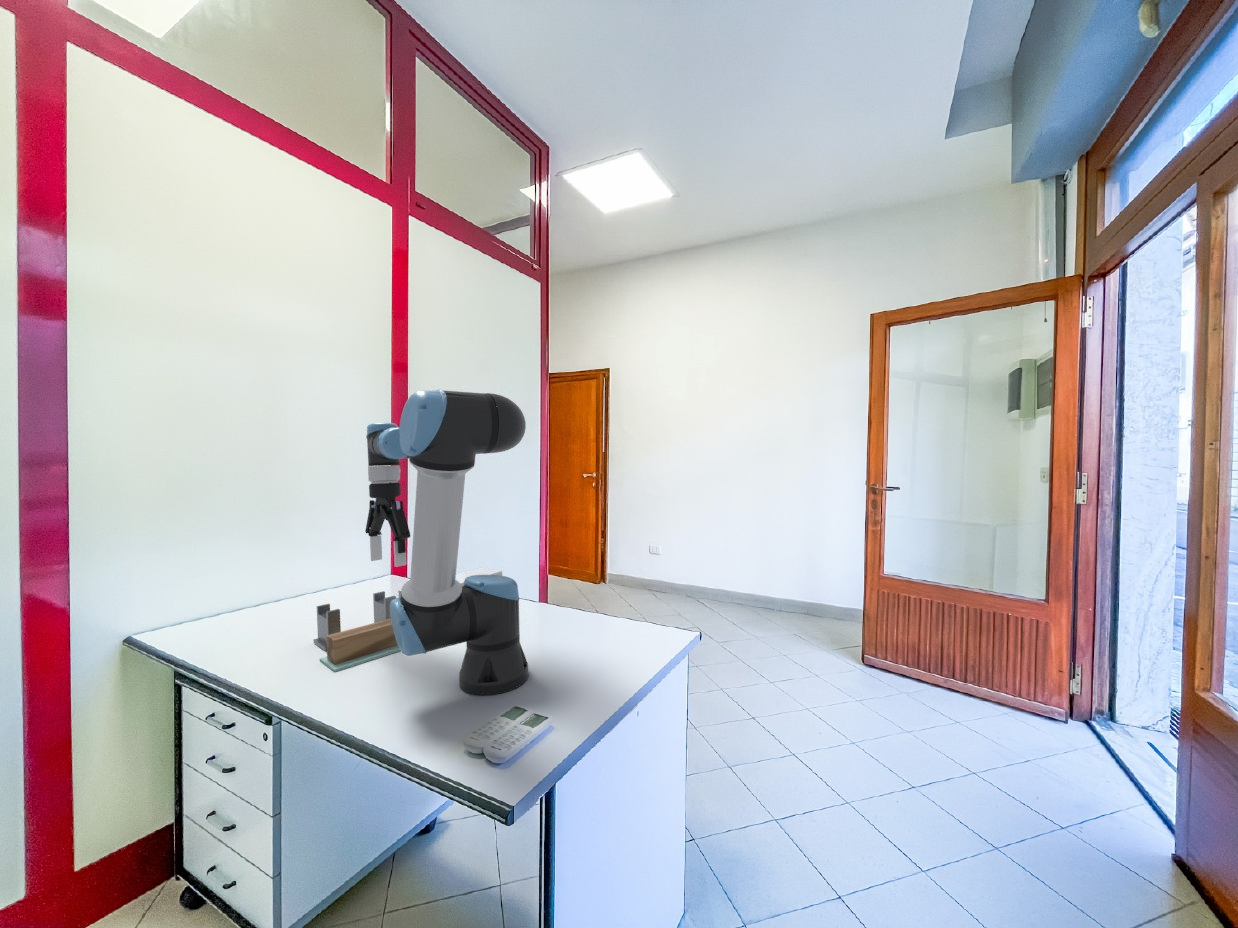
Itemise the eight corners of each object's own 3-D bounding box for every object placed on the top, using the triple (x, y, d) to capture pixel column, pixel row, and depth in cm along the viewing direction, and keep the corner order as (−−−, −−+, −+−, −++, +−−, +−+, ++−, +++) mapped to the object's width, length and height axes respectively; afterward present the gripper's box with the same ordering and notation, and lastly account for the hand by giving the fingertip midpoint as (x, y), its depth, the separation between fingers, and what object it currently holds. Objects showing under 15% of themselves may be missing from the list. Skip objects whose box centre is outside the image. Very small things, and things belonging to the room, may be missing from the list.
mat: (430, 641, 135) (430, 639, 135) (334, 672, 117) (334, 669, 117) (413, 632, 142) (413, 630, 142) (319, 660, 124) (319, 658, 124)
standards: (401, 629, 144) (399, 595, 144) (325, 651, 130) (323, 613, 129) (387, 622, 150) (386, 590, 150) (313, 643, 136) (312, 606, 135)
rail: (422, 637, 136) (421, 616, 136) (334, 664, 120) (333, 640, 119) (413, 633, 139) (412, 612, 139) (327, 659, 123) (326, 635, 123)
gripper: (422, 481, 125) (425, 565, 125) (377, 481, 141) (381, 555, 141) (393, 483, 119) (396, 571, 119) (350, 482, 135) (353, 560, 135)
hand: (388, 562), depth 130 cm, fingers open, 13 cm apart
